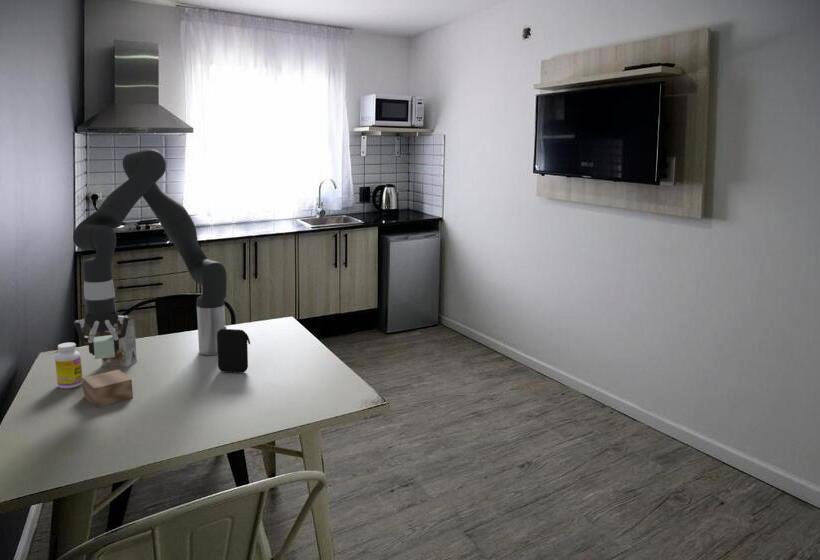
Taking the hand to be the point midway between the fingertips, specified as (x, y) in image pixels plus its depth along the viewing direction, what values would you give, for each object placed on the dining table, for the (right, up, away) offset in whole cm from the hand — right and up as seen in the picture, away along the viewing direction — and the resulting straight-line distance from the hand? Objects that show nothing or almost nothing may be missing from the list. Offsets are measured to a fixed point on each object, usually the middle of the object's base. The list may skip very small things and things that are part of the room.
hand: (104, 352), depth 168 cm
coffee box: (-10, -7, +29) cm, 31 cm away
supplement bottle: (-16, -11, +10) cm, 22 cm away
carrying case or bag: (+30, -10, +24) cm, 40 cm away
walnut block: (0, -13, +3) cm, 14 cm away
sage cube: (0, -1, 0) cm, 1 cm away
